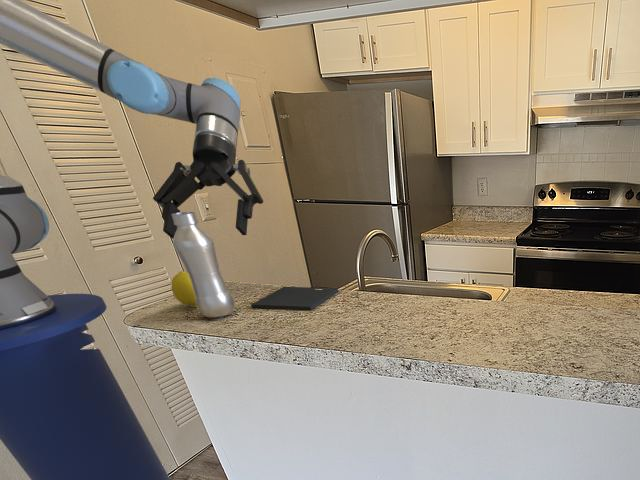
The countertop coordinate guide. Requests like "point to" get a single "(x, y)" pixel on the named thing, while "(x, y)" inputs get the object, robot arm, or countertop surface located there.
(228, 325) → the countertop surface
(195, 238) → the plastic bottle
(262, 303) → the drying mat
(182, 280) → the lemon
